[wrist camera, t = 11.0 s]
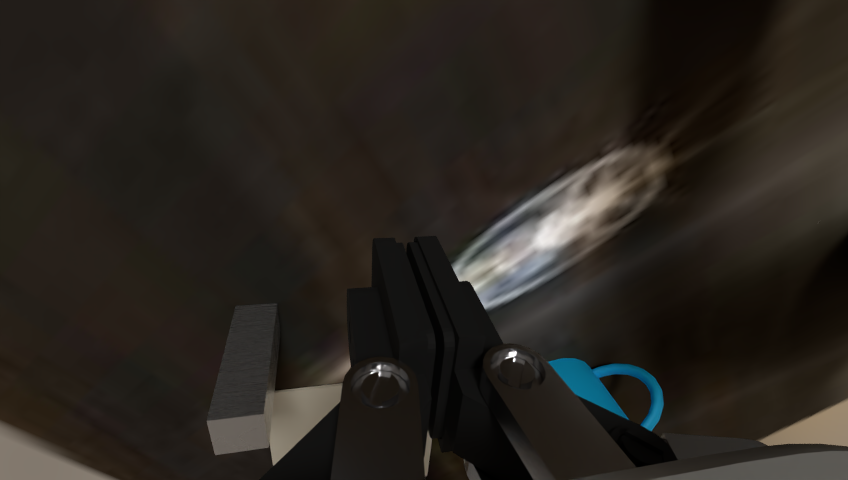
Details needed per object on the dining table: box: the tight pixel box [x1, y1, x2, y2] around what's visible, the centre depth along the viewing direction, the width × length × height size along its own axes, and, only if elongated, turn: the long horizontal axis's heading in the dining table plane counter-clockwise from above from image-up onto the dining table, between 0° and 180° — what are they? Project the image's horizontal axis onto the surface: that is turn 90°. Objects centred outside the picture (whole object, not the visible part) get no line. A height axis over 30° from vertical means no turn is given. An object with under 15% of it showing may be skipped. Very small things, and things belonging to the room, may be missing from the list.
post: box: [207, 303, 280, 455], centre depth 25 cm, size 3×3×9 cm
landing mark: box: [269, 383, 432, 476], centre depth 37 cm, size 14×14×1 cm
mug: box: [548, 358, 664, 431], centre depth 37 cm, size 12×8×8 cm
